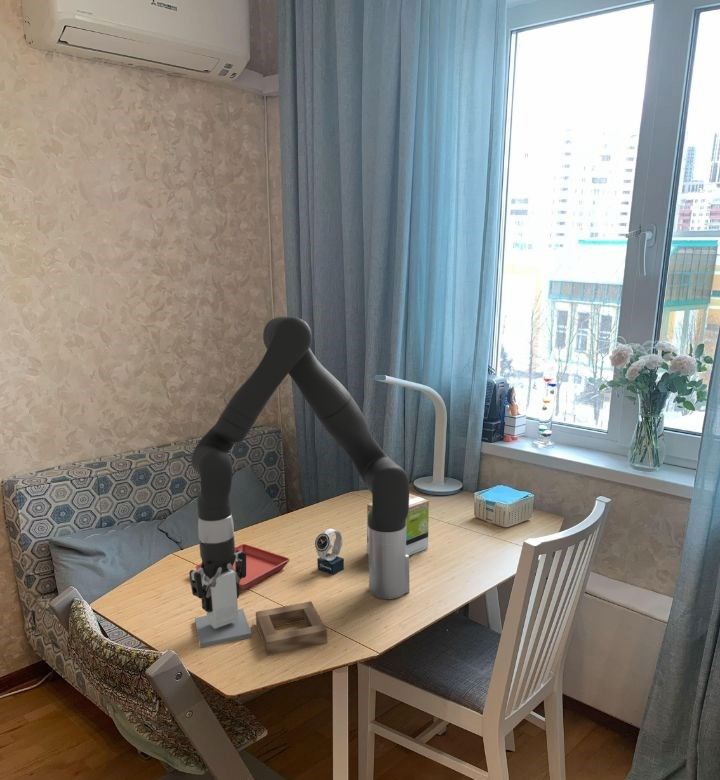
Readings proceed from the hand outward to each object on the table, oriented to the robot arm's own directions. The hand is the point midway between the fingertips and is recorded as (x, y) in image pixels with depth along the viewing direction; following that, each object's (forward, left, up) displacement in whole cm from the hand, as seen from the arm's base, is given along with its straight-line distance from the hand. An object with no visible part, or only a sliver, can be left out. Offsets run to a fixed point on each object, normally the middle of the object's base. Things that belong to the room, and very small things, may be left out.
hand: (221, 604), depth 149 cm
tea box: (-52, -23, -6) cm, 57 cm away
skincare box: (0, 0, -5) cm, 5 cm away
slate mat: (0, 0, -6) cm, 6 cm away
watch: (-31, -19, -6) cm, 37 cm away
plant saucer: (-9, -26, -7) cm, 28 cm away
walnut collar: (-14, +7, -6) cm, 17 cm away
